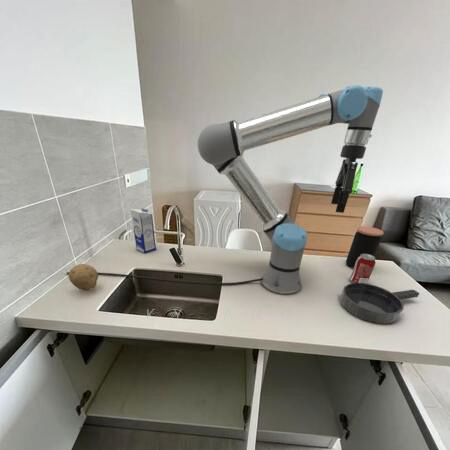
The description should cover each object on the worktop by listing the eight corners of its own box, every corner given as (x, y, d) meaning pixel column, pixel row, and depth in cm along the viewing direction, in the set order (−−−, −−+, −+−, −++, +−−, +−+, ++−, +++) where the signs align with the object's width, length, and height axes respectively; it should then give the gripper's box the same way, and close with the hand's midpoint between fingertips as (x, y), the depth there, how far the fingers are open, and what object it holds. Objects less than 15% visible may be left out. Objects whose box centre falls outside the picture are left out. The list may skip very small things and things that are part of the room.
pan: (366, 328, 78) (371, 317, 75) (328, 295, 94) (332, 285, 91) (411, 320, 83) (417, 309, 80) (368, 289, 99) (372, 280, 96)
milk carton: (136, 249, 121) (130, 208, 110) (147, 245, 125) (143, 206, 115) (144, 253, 117) (139, 211, 107) (156, 249, 121) (152, 209, 111)
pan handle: (392, 301, 88) (394, 296, 87) (386, 297, 90) (388, 293, 89) (417, 297, 91) (419, 293, 90) (411, 293, 93) (413, 289, 93)
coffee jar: (374, 270, 114) (389, 233, 105) (355, 272, 111) (369, 234, 102) (357, 260, 123) (370, 225, 113) (340, 262, 120) (352, 226, 111)
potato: (81, 282, 93) (74, 258, 88) (105, 283, 93) (99, 259, 88) (68, 295, 85) (60, 270, 80) (94, 296, 85) (87, 271, 80)
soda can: (368, 287, 100) (379, 261, 94) (351, 285, 101) (361, 259, 95) (364, 279, 106) (374, 254, 100) (347, 277, 107) (356, 252, 101)
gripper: (376, 146, 72) (353, 217, 83) (358, 145, 93) (341, 201, 104) (350, 145, 74) (330, 215, 85) (338, 143, 94) (323, 200, 105)
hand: (336, 207), depth 94 cm, fingers open, 13 cm apart
